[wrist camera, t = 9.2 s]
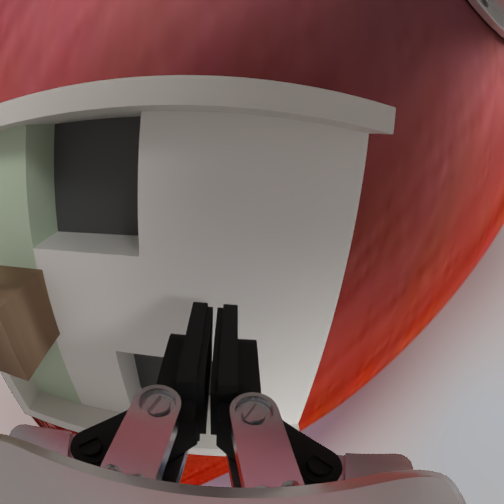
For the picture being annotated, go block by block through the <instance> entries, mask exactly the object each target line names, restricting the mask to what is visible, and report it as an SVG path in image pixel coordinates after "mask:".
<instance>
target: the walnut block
mask: <svg viewBox="0 0 504 504" xmlns="http://www.w3.org/2000/svg"><path fill="white" fill-rule="evenodd" d="M59 335H60V332H59V329H58V326H57V323H56V320H55V317H54V313H53V310H52V306H51V303H50V299H49V296H48V292H47V288H46V284H45V280H44V275H43V271H42V270H41V269H31V268H21V267H11V266H2V265H0V371H2V372H5V373H7V374H10V375H12V376H15V377H18V378H21V379H23V380H26V381H29V380H30V378H31V377H32V375H33V374H34V372H35V370H36V369H37V367H38V366H39V364H40V363H41V361H42V360H43V358H44V357H45V355H46V354H47V352H48V351H49V349H50V348H51V346H52V345H53V343H54V342H55V340H56V339H57V338H58V336H59Z"/></svg>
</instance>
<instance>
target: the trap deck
mask: <svg viewBox="0 0 504 504" xmlns="http://www.w3.org/2000/svg"><path fill="white" fill-rule="evenodd" d="M395 113H396V107H393V106H389V105H386V104H383V103H379V102H376V101H372V100H369V99H365V98H361V97H357V96H353V95H349V94H345V93H341V92H336V91H332V90H327V89H322V88H317V87H311V86H306V85H300V84H294V83H287V82H280V81H272V80H264V79H255V78H244V77H230V76H210V75H162V76H142V77H129V78H118V79H109V80H101V81H94V82H87V83H81V84H75V85H70V86H64V87H59V88H55V89H50V90H46V91H41V92H37V93H33V94H30V95H26V96H22V97H19V98H15V99H12V100H9V101H5V102H2V103H0V265H2V266H11V267H21V268H31V269H41V270H42V271H43V275H44V280H45V284H46V288H47V292H48V296H49V299H50V303H51V306H52V310H53V313H54V317H55V320H56V323H57V326H58V329H59V332H60V335H59V336H58V338H57V339H56V340H55V342H54V343H53V345H52V346H51V348H50V349H49V351H48V352H47V354H46V355H45V357H44V358H43V360H42V361H41V363H40V364H39V366H38V367H37V369H36V370H35V372H34V374H33V375H32V377H31V378H30V380H29V381H26V380H23V379H21V378H18V377H15V376H12V375H10V374H7V373H5V372H2V371H0V372H1V374H2V376H3V378H4V380H5V381H6V383H7V385H8V387H9V388H10V390H11V392H12V394H13V395H14V397H15V398H16V400H17V402H18V403H19V405H20V406H21V408H22V410H23V411H24V413H25V414H28V415H30V416H33V417H35V418H38V419H40V420H43V421H46V422H48V423H51V424H54V425H57V426H60V427H63V428H66V429H69V430H72V431H75V432H78V433H79V432H81V431H83V430H85V429H87V428H89V427H92V426H94V425H96V424H98V423H101V422H103V421H105V420H107V419H109V418H111V417H114V416H116V415H118V414H120V413H122V412H124V411H126V410H128V409H129V407H130V405H131V403H132V401H133V399H134V397H135V396H136V394H137V393H138V392H139V391H140V390H141V389H143V388H144V387H147V386H150V385H156V383H157V379H158V375H159V372H160V368H161V364H162V361H163V357H164V354H165V350H166V347H167V343H168V340H169V336H170V334H171V333H172V334H182V335H186V331H187V327H188V322H189V318H190V314H191V309H192V305H193V302H204V303H208V307H213V332H212V359H213V348H214V338H215V328H216V318H217V308H218V307H220V308H223V304H231V305H238V339H250V340H256V341H257V349H258V361H259V372H260V384H261V394H264V395H266V396H268V397H270V398H271V399H272V400H273V401H275V403H276V405H277V406H278V409H279V412H280V415H281V418H282V420H283V421H285V422H286V423H288V424H289V425H291V426H292V427H294V428H295V429H297V430H298V431H300V430H299V426H298V423H299V420H300V418H301V415H302V412H303V410H304V407H305V404H306V401H307V399H308V396H309V393H310V390H311V387H312V384H313V381H314V378H315V375H316V372H317V369H318V366H319V363H320V360H321V357H322V354H323V351H324V347H325V344H326V341H327V337H328V334H329V330H330V327H331V323H332V320H333V316H334V313H335V309H336V305H337V301H338V298H339V294H340V290H341V286H342V282H343V278H344V273H345V269H346V265H347V260H348V256H349V251H350V247H351V242H352V237H353V232H354V227H355V222H356V217H357V212H358V206H359V200H360V194H361V188H362V182H363V176H364V169H365V162H366V155H367V147H368V138H369V134H393V133H394V124H395ZM211 370H212V366H211ZM210 384H211V378H210ZM188 454H197V455H211V456H226V454H225V453H224V452H223V451H222V450H221V449H220V448H218V447H217V446H216V435H211V420H210V389H209V401H208V414H207V427H206V434H200V441H198V442H197V445H195V446H194V447H192V448H191V449H189V450H188Z"/></svg>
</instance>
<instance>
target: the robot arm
mask: <svg viewBox="0 0 504 504" xmlns="http://www.w3.org/2000/svg"><path fill="white" fill-rule="evenodd" d="M468 1H469V3H470V4H471V5H472V6H473V8H474V9H475V10H476V11H477V12H478V13H479V15H480V16H481V17H482V18H483V19H484V20H485V21H486V22H487V23H488V24H489V25H490V26H491V27H492V28H493V29H494V30H495V31H496V32H497V33H498V34H499V35H500V36H501V37H503V38H504V0H468ZM212 332H213V307H208V303H204V302H193V305H192V309H191V314H190V318H189V322H188V327H187V331H186V335H182V334H172V333H171V334H170V336H169V340H168V343H167V347H166V350H165V354H164V357H163V361H162V364H161V368H160V372H159V375H158V379H157V383H156V385H150V386H147V387H144V388H143V389H141V390H140V391H139V392H138V393H137V394H136V396H135V397H134V399H133V401H132V403H131V405H130V407H129V409H128V410H126V411H124V412H122V413H120V414H118V415H116V416H114V417H111V418H109V419H107V420H105V421H103V422H101V423H98V424H96V425H94V426H92V427H89V428H87V429H85V430H83V431H81V432H79V433H77V434H72V433H71V432H70V431H66V430H57V429H50V428H43V427H36V426H31V425H18V426H16V427H15V428H14V429H13V430H12V431H11V433H10V435H9V436H8V435H3V434H0V504H466V502H465V500H464V498H463V496H462V494H461V493H460V491H459V489H458V488H457V486H456V485H455V484H454V482H453V481H452V480H451V479H450V478H448V477H447V476H446V475H443V474H441V473H437V472H433V471H426V470H413V467H412V464H411V461H410V460H409V459H408V458H407V457H405V456H403V455H400V454H350V453H346V454H345V455H344V456H341V455H336V454H335V453H333V452H332V451H331V450H329V449H327V448H326V447H324V446H322V445H321V444H319V443H317V442H316V441H314V440H312V439H311V438H309V437H308V436H306V435H305V434H303V433H301V432H300V431H298V430H297V429H295V428H294V427H292V426H291V425H289V424H288V423H286V422H285V421H283V420H282V418H281V415H280V412H279V409H278V406H277V405H276V403H275V401H273V400H272V399H271V398H270V397H268V396H266V395H264V394H261V384H260V372H259V361H258V349H257V341H256V340H250V339H238V305H231V304H223V308H220V307H218V308H217V318H216V328H215V338H214V348H213V359H212ZM211 366H212V370H211ZM210 378H211V384H210ZM209 389H210V420H211V435H216V446H217V447H218V448H220V449H221V450H222V451H223V452H224V453H225V454H226V459H227V465H228V470H229V475H230V481H231V486H232V488H231V487H212V486H199V485H189V484H181V483H180V479H181V476H182V472H183V469H184V466H185V462H186V459H187V456H188V450H189V449H191V448H192V447H194V446H195V445H197V442H198V441H200V434H206V427H207V414H208V401H209Z"/></svg>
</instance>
